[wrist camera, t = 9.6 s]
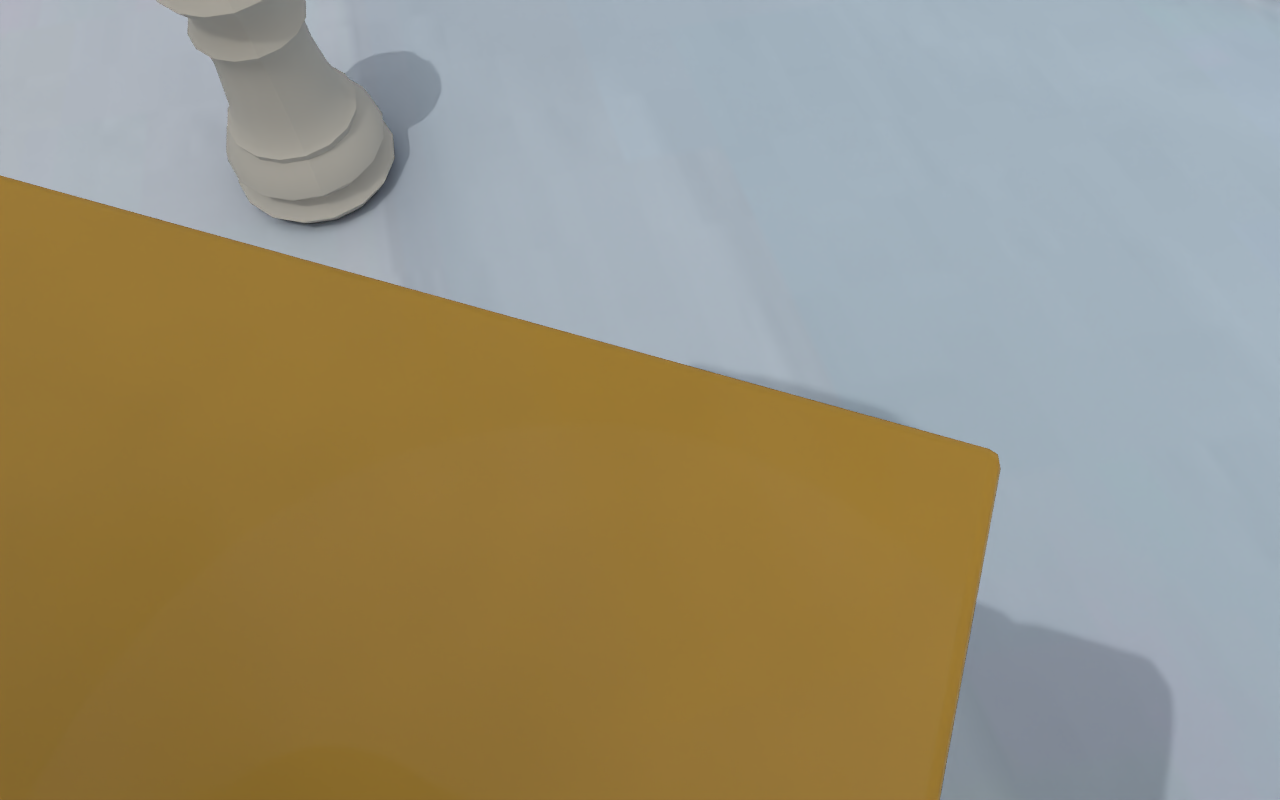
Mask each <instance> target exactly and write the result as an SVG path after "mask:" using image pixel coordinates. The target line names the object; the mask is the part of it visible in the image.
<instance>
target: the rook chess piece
mask: <svg viewBox="0 0 1280 800" xmlns="http://www.w3.org/2000/svg"><path fill="white" fill-rule="evenodd" d="M156 1H157V2H158V3H160V4H162V5H164V6H165V7H167V8H169V9H170V10H172V11H174V12H176V13H178V14H180V15H183V16H185V17H188V36H189V38H190V39H191V41H192V43H193V45H194V46H195V48H196V49H197V50H199V51H201V52H202V53H204V54H206V55H207V56H209V57H211V59H212V61H213V62H214V64H215V67H216V70H217V72H218V75H219V78H220V81H221V83H222V86H223V89H224V92H225V94H226V97H227V100H228V102H229V107H228V126H227V144H226V150H227V156H228V161H229V163H230V164H231V166H232V168H233V170H234V172H235V173H236V175H237V177H238V179H239V184H240V185H241V187H242V189H243V191H244V192H245V194H246V196H247V198H248V200H249V201H250V203H251V204H253V205H254V206H256V207H257V208H259V209H261V210H262V211H264V212H265V213H267V214H268V215H270V216H271V217H274V218H279V219H285V220H291V221H296V222H302V223H316V222H323V221H329V220H336V219H339V218H341V217H343V216H345V215H347V214H349V213H351V212H353V211H355V210H357V209H359V208H361V207H362V206H363V205H364V204H365V203H366V202H367V201H368V200H369V199H370V198H371V197H372V196H373V195H374V194H375V193H376V192H377V191H378V190H379V189H380V188H381V186H382V185H383V183H384V182H385V180H386V177H387V175H388V172H389V170H390V168H391V165H392V163H393V161H394V145H393V134H392V133H391V131H390V130H389V128H388V127H387V125H386V124H385V122H384V121H383V118H382V113H381V111H380V110H379V108H378V107H377V105H376V104H375V102H374V101H373V99H372V98H371V96H370V95H369V94H368V93H367V91H366V90H365V89H364V88H363V87H362V86H360V85H359V84H357V83H355V82H353V81H351V80H350V79H348V78H347V76H346V75H345V73H343V72H341V71H339V70H337V69H336V68H334V67H332V66H331V65H330V64H329V63H328V62H327V60H326V59H325V57H324V56H323V54H322V52H321V51H320V49H319V48H318V46H317V45H316V43H315V41H314V40H313V38H312V37H311V34H310V32H309V30H308V27H307V25H306V23H305V18H306V1H305V0H156Z"/></svg>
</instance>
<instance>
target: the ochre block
mask: <svg viewBox="0 0 1280 800" xmlns="http://www.w3.org/2000/svg"><path fill="white" fill-rule="evenodd" d="M999 474H1000V464H999V458H998V454H996V453H995V452H993V451H991V450H990V449H987V448H984V447H980V446H977V445H973V444H969V443H966V442H962V441H958V440H955V439H951V438H948V437H944V436H940V435H937V434H933V433H929V432H926V431H922V430H919V429H915V428H911V427H908V426H904V425H901V424H897V423H893V422H890V421H886V420H882V419H879V418H875V417H872V416H868V415H864V414H861V413H857V412H854V411H850V410H846V409H843V408H839V407H835V406H832V405H828V404H825V403H821V402H817V401H814V400H810V399H807V398H803V397H799V396H796V395H792V394H788V393H785V392H781V391H778V390H774V389H770V388H767V387H763V386H759V385H756V384H752V383H749V382H745V381H741V380H738V379H734V378H731V377H727V376H723V375H720V374H716V373H712V372H709V371H705V370H702V369H698V368H694V367H691V366H687V365H684V364H680V363H676V362H673V361H669V360H665V359H662V358H658V357H655V356H651V355H647V354H644V353H640V352H637V351H633V350H629V349H626V348H622V347H618V346H615V345H611V344H608V343H604V342H600V341H597V340H593V339H589V338H586V337H582V336H579V335H575V334H571V333H568V332H564V331H561V330H557V329H553V328H550V327H546V326H542V325H539V324H535V323H532V322H528V321H524V320H521V319H517V318H514V317H510V316H506V315H503V314H499V313H495V312H492V311H488V310H485V309H481V308H477V307H474V306H470V305H467V304H463V303H459V302H456V301H452V300H448V299H445V298H441V297H438V296H434V295H430V294H427V293H423V292H419V291H416V290H412V289H409V288H405V287H401V286H398V285H394V284H391V283H387V282H383V281H380V280H376V279H372V278H369V277H365V276H362V275H358V274H354V273H351V272H347V271H344V270H340V269H336V268H333V267H329V266H325V265H322V264H318V263H315V262H311V261H307V260H304V259H300V258H297V257H293V256H289V255H286V254H282V253H278V252H275V251H271V250H268V249H264V248H260V247H257V246H253V245H249V244H246V243H242V242H239V241H235V240H231V239H228V238H224V237H221V236H217V235H213V234H210V233H206V232H202V231H199V230H195V229H192V228H188V227H184V226H181V225H177V224H174V223H170V222H166V221H163V220H159V219H155V218H152V217H148V216H145V215H141V214H137V213H134V212H130V211H126V210H123V209H119V208H116V207H112V206H108V205H105V204H101V203H98V202H94V201H90V200H87V199H83V198H79V197H76V196H72V195H69V194H65V193H61V192H58V191H54V190H51V189H47V188H43V187H40V186H36V185H32V184H29V183H25V182H22V181H18V180H14V179H11V178H7V177H4V176H0V800H940V795H941V790H942V784H943V779H944V773H945V768H946V763H947V757H948V752H949V746H950V741H951V735H952V730H953V725H954V719H955V714H956V708H957V703H958V697H959V692H960V686H961V681H962V676H963V670H964V665H965V659H966V654H967V648H968V643H969V637H970V632H971V627H972V621H973V616H974V610H975V605H976V599H977V594H978V588H979V583H980V578H981V572H982V567H983V561H984V556H985V550H986V545H987V540H988V534H989V529H990V523H991V518H992V512H993V507H994V501H995V496H996V491H997V485H998V480H999Z"/></svg>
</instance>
